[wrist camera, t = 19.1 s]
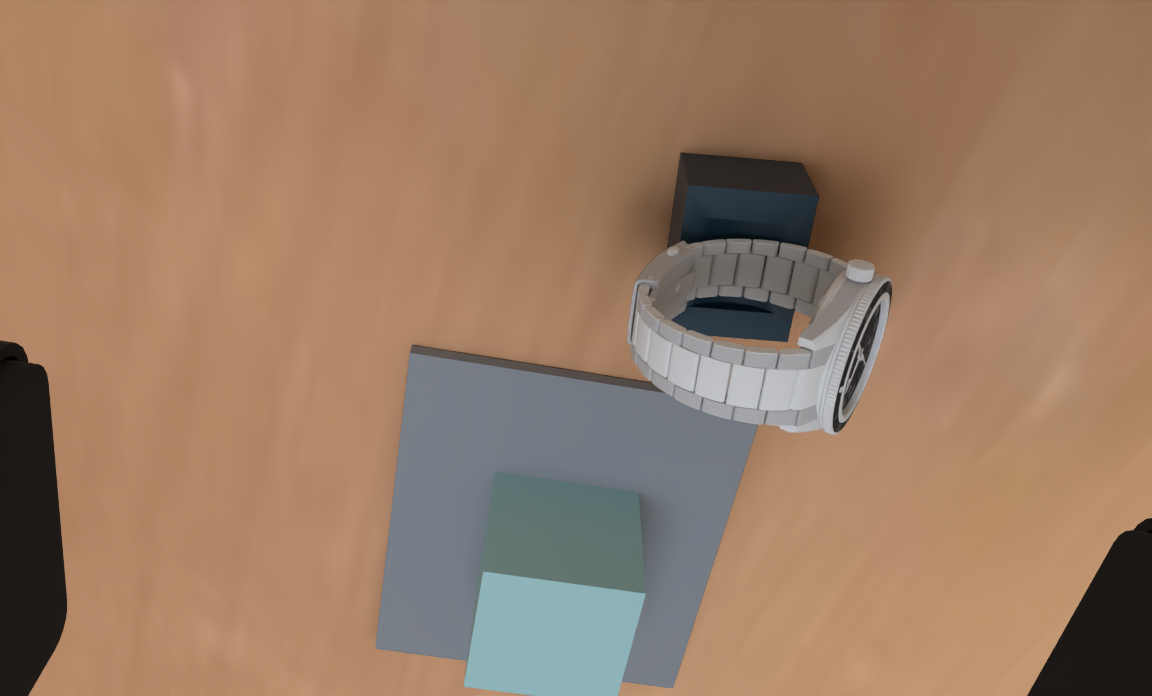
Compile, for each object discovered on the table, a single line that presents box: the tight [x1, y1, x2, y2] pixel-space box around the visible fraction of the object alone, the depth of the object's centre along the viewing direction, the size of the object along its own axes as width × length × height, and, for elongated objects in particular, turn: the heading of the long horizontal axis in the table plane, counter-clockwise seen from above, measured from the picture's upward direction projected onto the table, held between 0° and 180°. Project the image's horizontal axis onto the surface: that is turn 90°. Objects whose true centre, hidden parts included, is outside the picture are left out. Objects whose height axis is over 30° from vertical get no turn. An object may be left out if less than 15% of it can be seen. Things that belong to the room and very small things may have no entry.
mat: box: [375, 345, 758, 688], centre depth 45 cm, size 14×16×1 cm
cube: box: [464, 472, 646, 696], centre depth 42 cm, size 6×6×6 cm
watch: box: [627, 153, 892, 435], centre depth 34 cm, size 6×8×11 cm
